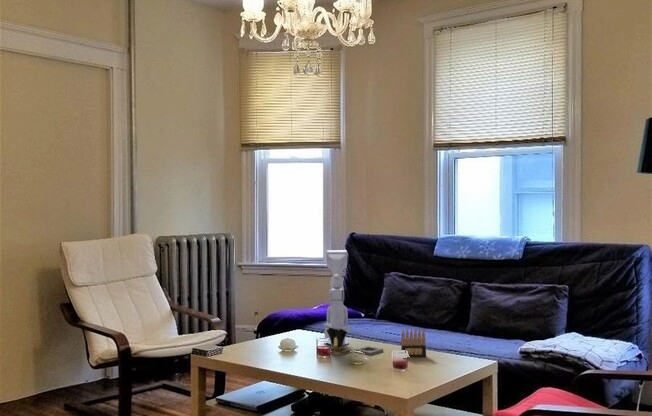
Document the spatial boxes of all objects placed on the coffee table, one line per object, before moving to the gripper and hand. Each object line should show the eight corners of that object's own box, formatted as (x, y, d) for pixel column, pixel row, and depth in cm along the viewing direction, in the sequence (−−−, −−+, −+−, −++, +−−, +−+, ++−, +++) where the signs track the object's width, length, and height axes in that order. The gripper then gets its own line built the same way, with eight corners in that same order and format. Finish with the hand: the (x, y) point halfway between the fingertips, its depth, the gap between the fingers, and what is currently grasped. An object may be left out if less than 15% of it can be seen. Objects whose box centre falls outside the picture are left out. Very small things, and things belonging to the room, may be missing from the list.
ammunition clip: (425, 356, 283) (425, 328, 283) (426, 357, 281) (426, 329, 281) (400, 356, 283) (400, 328, 282) (401, 357, 281) (401, 329, 281)
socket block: (354, 352, 291) (354, 349, 291) (367, 348, 298) (367, 346, 298) (370, 355, 285) (370, 352, 285) (383, 351, 292) (383, 349, 292)
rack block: (322, 352, 291) (322, 349, 291) (336, 349, 298) (336, 346, 298) (337, 355, 285) (337, 353, 285) (351, 352, 291) (351, 349, 291)
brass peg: (332, 351, 291) (332, 336, 291) (337, 350, 293) (337, 335, 293) (336, 352, 289) (336, 337, 289) (342, 351, 291) (342, 336, 291)
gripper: (318, 314, 293) (319, 344, 293) (342, 318, 283) (343, 349, 283) (329, 312, 298) (330, 342, 298) (353, 316, 288) (353, 347, 288)
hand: (337, 345), depth 291 cm, fingers closed on brass peg, 3 cm apart
